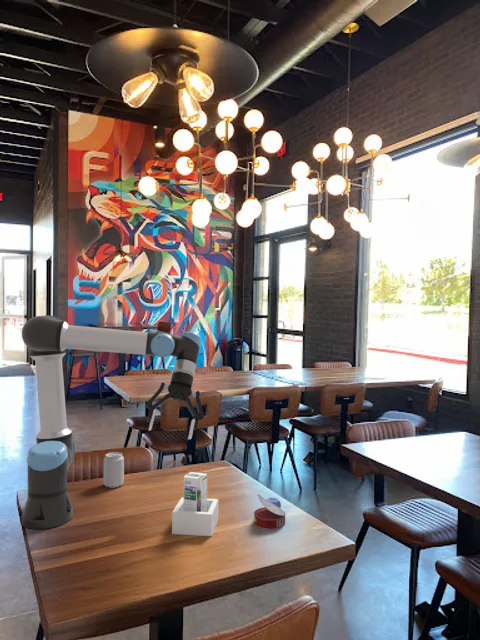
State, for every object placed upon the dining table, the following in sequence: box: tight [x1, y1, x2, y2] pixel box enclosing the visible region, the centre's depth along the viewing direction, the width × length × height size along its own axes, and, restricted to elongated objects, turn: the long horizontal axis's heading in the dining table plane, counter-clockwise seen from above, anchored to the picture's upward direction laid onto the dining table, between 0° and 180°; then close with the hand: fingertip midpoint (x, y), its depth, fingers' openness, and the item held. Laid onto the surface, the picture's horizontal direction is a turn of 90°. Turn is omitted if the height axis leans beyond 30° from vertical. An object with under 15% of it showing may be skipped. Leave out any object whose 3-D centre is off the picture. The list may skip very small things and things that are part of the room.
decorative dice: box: [266, 496, 282, 509], centre depth 164 cm, size 4×4×4 cm
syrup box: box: [183, 471, 208, 512], centre depth 152 cm, size 6×6×14 cm
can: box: [103, 451, 125, 489], centre depth 187 cm, size 8×8×12 cm
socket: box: [171, 496, 219, 537], centre depth 151 cm, size 12×12×6 cm
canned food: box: [253, 493, 286, 530], centre depth 155 cm, size 11×10×10 cm
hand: (169, 434), depth 163 cm, fingers open, 13 cm apart
